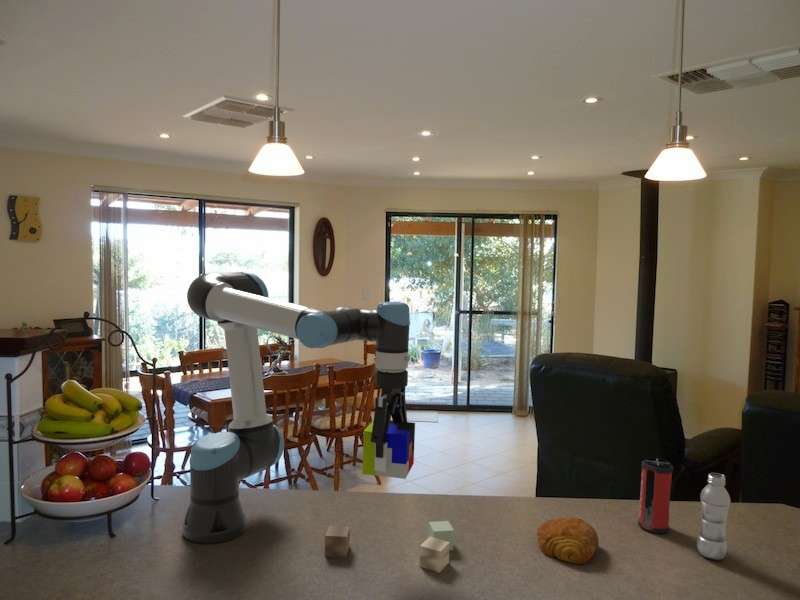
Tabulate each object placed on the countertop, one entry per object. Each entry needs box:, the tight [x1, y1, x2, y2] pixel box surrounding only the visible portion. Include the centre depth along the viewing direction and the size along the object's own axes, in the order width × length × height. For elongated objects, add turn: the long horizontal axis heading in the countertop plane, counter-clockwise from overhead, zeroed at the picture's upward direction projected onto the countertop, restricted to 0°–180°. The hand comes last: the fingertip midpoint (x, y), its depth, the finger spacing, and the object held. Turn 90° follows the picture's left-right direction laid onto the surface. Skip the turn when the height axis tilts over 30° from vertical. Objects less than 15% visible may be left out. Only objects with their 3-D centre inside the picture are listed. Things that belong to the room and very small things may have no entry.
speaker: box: [637, 457, 675, 534], centre depth 154 cm, size 8×8×18 cm
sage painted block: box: [427, 520, 455, 551], centre depth 142 cm, size 5×5×5 cm
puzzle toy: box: [362, 419, 416, 480], centre depth 136 cm, size 10×10×10 cm
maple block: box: [419, 537, 450, 574], centre depth 133 cm, size 5×5×5 cm
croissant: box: [536, 516, 599, 565], centre depth 143 cm, size 14×16×8 cm
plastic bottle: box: [696, 472, 732, 561], centre depth 140 cm, size 6×7×20 cm
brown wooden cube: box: [324, 525, 351, 558], centre depth 138 cm, size 5×5×5 cm
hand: (389, 462), depth 137 cm, fingers closed on puzzle toy, 10 cm apart
